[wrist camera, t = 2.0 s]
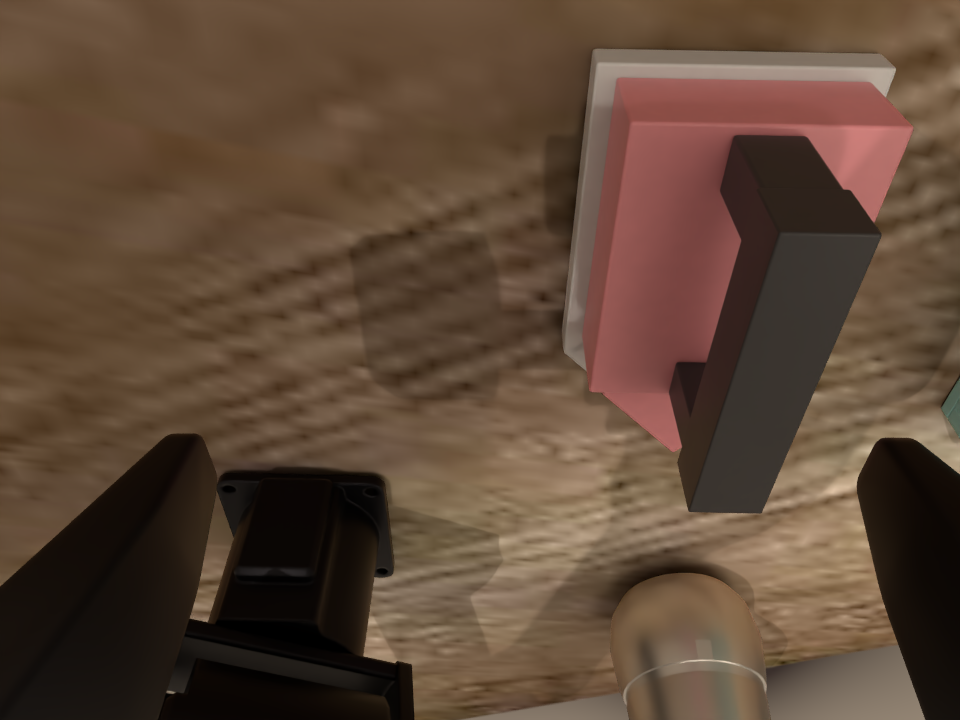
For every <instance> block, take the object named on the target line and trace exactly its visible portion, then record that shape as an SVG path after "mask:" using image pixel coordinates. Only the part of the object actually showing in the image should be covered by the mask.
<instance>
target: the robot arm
mask: <svg viewBox="0 0 960 720" xmlns="http://www.w3.org/2000/svg"><path fill="white" fill-rule="evenodd" d="M216 491H217V492H218V495H219V497H220V500H221V503H222V506H223V509H224V511H225V514H226V517H227V520H228V522H229V525H230V528H231V531H232V534H233V536H234V540H233V543H232V546H231V550H230V553H229V556H228V559H227V562H226V566H225V569H224V572H223V575H222V579H221V582H220V585H219V588H218V591H217V595H216V598H215V601H214V604H213V607H212V611H211V614H210V617H209V620H208V622H203V621H198V620H194V619H189V618H190V615H191V612H192V609H193V605H194V601H195V598H196V594H197V590H198V586H199V581H200V576H201V571H202V566H203V560H204V555H205V550H206V544H207V539H208V534H209V528H210V523H211V518H212V512H213V507H214V501H215V496H216ZM857 494H858V499H859V503H860V507H861V512H862V516H863V520H864V524H865V529H866V533H867V537H868V541H869V546H870V550H871V554H872V559H873V563H874V567H875V571H876V576H877V580H878V584H879V588H880V591H881V595H882V599H883V602H884V605H885V608H886V611H887V614H888V617H889V620H890V623H891V625H892V628H893V631H894V634H895V636H896V639H897V642H898V645H899V647H900V650H901V653H902V656H903V659H904V661H905V664H906V667H907V670H908V673H909V675H910V678H911V681H912V684H913V687H914V689H915V692H916V695H917V698H918V700H919V703H920V706H921V709H922V711H923V714H924V717H925V720H960V474H958V473H957V472H956V471H955V470H953V469H952V468H951V467H950V466H948V465H947V464H946V463H945V462H943V461H942V460H941V459H939V458H938V457H937V456H936V455H934V454H933V453H932V452H931V451H929V450H928V449H927V448H926V447H924V446H923V445H922V444H921V443H919V442H918V441H916V440H914V439H911V438H881V439H880V440H879V441H877V442H876V444H875V445H874V447H873V449H872V451H871V453H870V455H869V457H868V459H867V461H866V463H865V465H864V467H863V468H862V470H861V472H860V474H859V477H858V481H857ZM393 572H394V555H393V547H392V538H391V530H390V521H389V513H388V504H387V496H386V487H385V483H384V481H383V480H382V479H380V478H378V477H373V476H338V475H291V474H245V473H226V474H223V475H221V476H220V478H219V480H218V483H217V475H216V471H215V468H214V465H213V463H212V460H211V458H210V455H209V452H208V450H207V447H206V444H205V442H204V440H203V438H202V437H201V436H200V435H198V434H170V435H168V436H166V437H164V438H163V439H162V440H161V441H160V442H159V443H158V444H157V445H155V446H154V447H153V448H152V449H151V450H150V451H149V452H148V453H147V454H146V455H144V456H143V457H142V458H141V459H140V460H139V461H138V462H137V463H136V464H135V465H133V466H132V467H131V468H130V469H129V470H128V471H127V472H126V473H125V474H124V475H122V476H121V477H120V478H119V479H118V480H117V481H116V482H115V483H114V484H113V485H111V486H110V487H109V488H108V489H107V490H106V491H105V492H104V493H103V494H102V495H100V496H99V497H98V498H97V499H96V500H95V501H94V502H93V503H92V504H91V505H89V506H88V507H87V508H86V509H85V510H84V511H83V512H82V513H81V514H80V515H78V516H77V517H76V518H75V519H74V520H73V521H72V522H71V523H70V524H69V525H67V526H66V527H65V528H64V529H63V530H62V531H61V532H60V533H59V534H58V535H56V536H55V537H54V538H53V539H52V540H51V541H50V542H49V543H48V544H47V545H45V546H44V547H43V548H42V549H41V550H40V551H39V552H38V553H37V554H36V555H34V556H33V557H32V558H31V559H30V560H29V561H28V562H27V563H26V564H25V565H23V566H22V567H21V568H20V569H19V570H18V571H17V572H16V573H15V574H14V575H12V576H11V577H10V578H9V579H8V580H7V581H6V582H5V583H4V584H3V585H1V586H0V720H414V701H413V681H412V665H411V664H408V663H404V662H399V661H397V662H396V663H391V662H387V661H382V660H377V659H373V658H368V657H364V656H363V654H364V647H365V640H366V632H367V625H368V618H369V611H370V604H371V597H372V590H373V582H374V577H381V578H383V577H389V576H391V575H392V574H393ZM167 691H172V692H176V693H174V694H169V693H166V692H167Z"/></svg>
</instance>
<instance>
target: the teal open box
mask: <svg viewBox="0 0 960 720" xmlns="http://www.w3.org/2000/svg"><path fill="white" fill-rule="evenodd" d="M941 409H942V411H943V412H944V414H945V416H946V417H947V418H948V420H949V422H950V424H951V425H952V427H953V428H954V430H955V432H956V433H957V435H958V437H959V438H960V378H959V379H958V381H957V383H956V384H955V386H954V388H953V389H952V391H951V393H950V394H949V396H948V398H947V399H946V401H945V403H944V404H943V406H942V407H941Z"/></svg>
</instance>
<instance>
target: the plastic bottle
mask: <svg viewBox="0 0 960 720" xmlns="http://www.w3.org/2000/svg"><path fill="white" fill-rule="evenodd" d="M610 653H611V657H612V661H613V665H614V669H615V673H616V677H617V681H618V686H619V689H620V692H621V695H622V698H623V700H624V703H625V704H626V706H627V711H628V716H629V720H771V717H770V711H769V706H768V700H767V695H766V667H765V660H764V653H763V646H762V639H761V635H760V632H759V630H758V628H757V626H756V623H755V621H754V619H753V617H752V615H751V613H750V611H749V608H748V606H747V604H746V602H745V601H744V600H743V599H742V598H741V596H739V595H738V594H737V593H736V592H735V591H734V590H733V589H731V588H730V587H729V586H728V585H726V584H725V583H724V582H722V581H721V580H718V579H716V578H714V577H711V576H707V575H703V574H695V573H673V574H665V575H661V576H656V577H653V578H650V579H647V580H645V581H643V582H641V583H639V584H637V585H635V586H634V587H632V588H631V589H630V590H628V591H627V593H626V594H625V595H624V596H623V597H622V599H621V601H620V603H619V605H618V606H617V608H616V610H615V612H614V614H613V616H612V622H611V641H610Z"/></svg>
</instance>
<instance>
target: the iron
mask: <svg viewBox="0 0 960 720" xmlns="http://www.w3.org/2000/svg"><path fill="white" fill-rule="evenodd" d="M895 72H896V68H895V67H894V66H893V65H892V64H891V63H890V62H889V61H888V60H887V59H886V58H885V57H884V56H883V55H881V54H865V53H808V52H752V51H695V50H639V49H594V50H593V52H592V60H591V69H590V78H589V87H588V96H587V105H586V115H585V124H584V133H583V142H582V151H581V160H580V170H579V179H578V188H577V197H576V206H575V215H574V224H573V234H572V243H571V252H570V261H569V270H568V279H567V288H566V298H565V307H564V316H563V325H562V340H563V350H564V353H565V354H566V355H568V356H569V357H570V358H571V359H572V360H574V361H575V362H576V363H577V364H578V365H580V366H581V367H582V368H583V369H584V370H585V371H587V378H588V385H589V390H590V392H602V394H603V395H604V396H606V397H607V398H608V399H609V400H610V401H612V402H613V403H614V404H615V405H616V406H618V407H619V408H620V409H621V410H622V411H624V412H625V413H626V414H627V415H628V416H630V417H631V418H632V419H633V420H634V421H636V422H637V423H638V424H639V425H640V426H642V427H643V428H644V429H645V430H646V431H648V432H649V433H650V434H651V435H652V436H654V437H655V438H656V439H657V440H658V441H660V442H661V443H662V444H663V445H664V446H666V447H667V448H668V449H669V450H670V451H672V452H674V451H676V450H678V449H680V448H681V452H680V455H679V459H678V462H677V463H678V468H679V472H680V476H681V481H682V485H683V489H684V494H685V498H686V502H687V507H688V511H689V512H713V513H759V514H760V513H762V511H763V508H764V506H765V504H766V502H767V499H768V497H769V495H770V492H771V490H772V488H773V485H774V483H775V481H776V479H777V476H778V474H779V472H780V469H781V467H782V465H783V462H784V460H785V458H786V455H787V453H788V451H789V449H790V446H791V444H792V442H793V439H794V437H795V435H796V432H797V430H798V428H799V425H800V423H801V421H802V419H803V416H804V414H805V412H806V409H807V407H808V405H809V402H810V400H811V398H812V396H813V393H814V391H815V389H816V386H817V384H818V382H819V379H820V377H821V375H822V372H823V370H824V368H825V366H826V363H827V361H828V359H829V356H830V354H831V352H832V349H833V347H834V345H835V342H836V340H837V338H838V336H839V333H840V331H841V329H842V326H843V324H844V322H845V319H846V317H847V315H848V313H849V310H850V308H851V306H852V303H853V301H854V299H855V296H856V294H857V292H858V289H859V287H860V285H861V283H862V280H863V278H864V276H865V273H866V271H867V269H868V266H869V264H870V262H871V259H872V257H873V255H874V253H875V250H876V248H877V246H878V243H879V241H880V239H881V232H880V231H879V230H878V228H877V227H876V225H875V224H874V222H875V220H876V218H877V215H878V213H879V210H880V208H881V206H882V203H883V201H884V199H885V196H886V194H887V191H888V189H889V187H890V184H891V182H892V180H893V177H894V175H895V172H896V170H897V168H898V165H899V163H900V161H901V158H902V156H903V153H904V151H905V149H906V146H907V144H908V141H909V139H910V137H911V134H912V132H913V126H912V125H911V124H910V123H909V122H908V121H907V120H906V119H905V118H904V117H903V115H902V114H901V113H900V112H899V111H898V110H897V109H896V108H895V107H894V106H893V105H892V104H891V103H890V102H889V101H888V100H887V99H886V95H887V93H888V90H889V88H890V85H891V82H892V80H893V77H894V74H895Z"/></svg>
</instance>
